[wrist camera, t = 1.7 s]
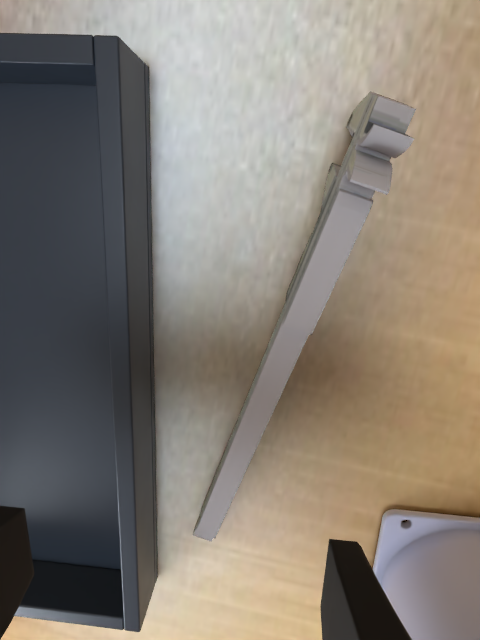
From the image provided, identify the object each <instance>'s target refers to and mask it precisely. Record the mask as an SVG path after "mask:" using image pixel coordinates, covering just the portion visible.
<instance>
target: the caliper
mask: <svg viewBox="0 0 480 640" xmlns="http://www.w3.org/2000/svg"><path fill="white" fill-rule="evenodd" d="M415 110H416V109H414V108H412V107H410V106H408V105H406V104H404V103H401V102H399V101H396V100H393V99H390V98H387V97H384V96H382V95H379V94H376V93H373V92H370V93H369V94H368V95H367V96H366V97H365V98H364V99H363V100H362V101H361V102H360V104H359V105H358V106H357V107H356V108H355V109H354V111H353V112H352V114H351V117H350V119H349V121H348V124H347V126H346V127H347V128H348V130H349V132H350V134H351V136H352V138H353V139H352V141H351V143H350V146H349V148H348V150H347V153H346V155H345V158H344V160H343V163H342V165H341V166H339V165H336V164H333V163H332V164H331V166H330V169H329V173H328V176H327V180H326V186H325V191H324V197H323V202H322V208H321V213H320V216H319V218H318V221H317V223H316V226H315V228H314V230H313V233H312V234H311V236H310V238H309V241H308V243H307V245H306V247H305V250H304V252H303V254H302V256H301V259H300V262H299V264H298V267H297V270H296V272H295V275H294V277H293V279H292V281H291V284H290V286H289V288H288V291H287V295H286V302H285V305H284V307H283V310H282V312H281V315H280V317H279V319H278V322H277V324H276V327H275V329H274V332H273V334H272V337H271V339H270V342H269V344H268V347H267V349H266V351H265V354H264V356H263V359H262V361H261V364H260V366H259V369H258V371H257V374H256V376H255V378H254V381H253V383H252V386H251V388H250V391H249V393H248V396H247V398H246V401H245V403H244V406H243V408H242V410H241V413H240V415H239V418H238V420H237V423H236V425H235V428H234V430H233V433H232V435H231V437H230V440H229V442H228V445H227V447H226V450H225V452H224V455H223V457H222V459H221V462H220V464H219V467H218V469H217V472H216V474H215V477H214V479H213V481H212V484H211V486H210V489H209V491H208V494H207V496H206V499H205V501H204V504H203V506H202V509H201V513H200V517H199V519H198V521H197V524H196V526H195V529H194V532H193V535H194V536H197V537H200V538H203V539H206V540H208V541H212V539H213V538H215V537H216V535H217V533H218V531H219V529H220V526H221V524H222V522H223V520H224V518H225V516H226V514H227V511H228V509H229V507H230V505H231V503H232V501H233V498H234V496H235V494H236V492H237V490H238V488H239V485H240V483H241V481H242V479H243V477H244V474H245V472H246V470H247V468H248V466H249V464H250V461H251V459H252V457H253V455H254V453H255V451H256V448H257V446H258V444H259V442H260V440H261V438H262V435H263V433H264V431H265V429H266V427H267V424H268V422H269V420H270V418H271V416H272V414H273V411H274V409H275V407H276V405H277V403H278V401H279V398H280V396H281V394H282V392H283V390H284V387H285V385H286V383H287V381H288V379H289V377H290V374H291V372H292V370H293V368H294V366H295V364H296V361H297V359H298V357H299V355H300V353H301V351H302V348H303V346H304V344H305V342H306V340H307V337H308V335H312V333H313V331H314V329H315V327H316V325H317V322H318V320H319V318H320V316H321V314H322V312H323V310H324V308H325V305H326V303H327V301H328V299H329V297H330V295H331V293H332V290H333V288H334V286H335V284H336V282H337V280H338V278H339V276H340V273H341V271H342V269H343V267H344V265H345V263H346V261H347V258H348V256H349V254H350V252H351V250H352V248H353V246H354V244H355V241H356V239H357V237H358V235H359V233H360V231H361V229H362V226H363V224H364V222H365V220H366V218H367V216H368V214H369V211H370V209H371V207H372V204H373V200H371V199H372V197H373V194H374V192H375V191H378V192H381V193H384V194H388V193H389V190H390V185H391V177H392V164H391V163H390V159H391V157H393V158H396V157H398V156H399V155H401V154H402V153H404V152H405V151H406V150H407V149H408V147H409V146H410V145H411V144H412V142H413V140H414V138H412V137H410V136H408V135H406V134H405V132H406V130H407V128H408V126H409V124H410V121H411V119H412V117H413V115H414V112H415Z"/></svg>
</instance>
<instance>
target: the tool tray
mask: <svg viewBox="0 0 480 640" xmlns="http://www.w3.org/2000/svg"><path fill="white" fill-rule="evenodd" d="M0 506H8V507H18V508H25V514H26V520H27V527H28V534H29V541H30V547H31V554H32V561H33V568H34V576H33V578H32V580H31V583H30V585H29V587H28V589H27V591H26V593H25V595H24V597H23V599H22V601H21V603H20V605H19V607H18V609H17V611H16V613H15V615H14V616H19V617H27V618H35V619H42V620H50V621H58V622H65V623H73V624H81V625H89V626H96V627H104V628H112V629H120V630H123V629H125V630H127V631H134V632H140V630H141V627H142V624H143V621H144V618H145V615H146V611H147V608H148V605H149V602H150V599H151V596H152V592H153V589H154V586H155V583H156V580H157V577H158V575H157V518H156V461H155V404H154V347H153V290H152V233H151V176H150V120H149V68H148V66H147V65H146V64H145V63H144V62H143V61H142V60H141V59H140V58H139V57H138V56H137V55H136V54H135V53H134V52H133V51H132V50H131V49H130V48H129V47H128V46H127V45H126V44H125V43H124V42H123V41H122V40H121V39H120V38H119V37H118V36H100V35H96V36H94V37H93V36H92V35H68V34H22V33H0Z"/></svg>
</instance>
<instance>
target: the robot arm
mask: <svg viewBox="0 0 480 640" xmlns="http://www.w3.org/2000/svg"><path fill="white" fill-rule="evenodd" d="M403 520H408V521H407V522H402V521H403ZM33 576H34V568H33V561H32V554H31V547H30V541H29V534H28V527H27V520H26V514H25V508H18V507H8V506H0V639H1V637H2V636H3V634H4V633H5V631H6V629H7V628H8V626H9V624H10V623H11V621H12V619H13V617H14V615H15V613H16V611H17V609H18V607H19V605H20V603H21V601H22V599H23V597H24V595H25V593H26V591H27V589H28V587H29V585H30V583H31V580H32V578H33ZM321 622H322V639H323V640H480V518H477V517H468V516H458V515H448V514H438V513H429V512H419V511H409V510H399V509H390V510H388V511H386V512H385V513H384V515H383V518H382V523H381V528H380V533H379V539H378V544H377V549H376V555H375V560H374V565H373V570H372V568H371V566H370V564H369V562H368V560H367V558H366V556H365V554H364V552H363V550H362V547H361V546H360V545H359V544H358V543H357V542H353V541H343V540H334V539H329V546H328V553H327V561H326V569H325V576H324V584H323V592H322V600H321Z"/></svg>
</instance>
